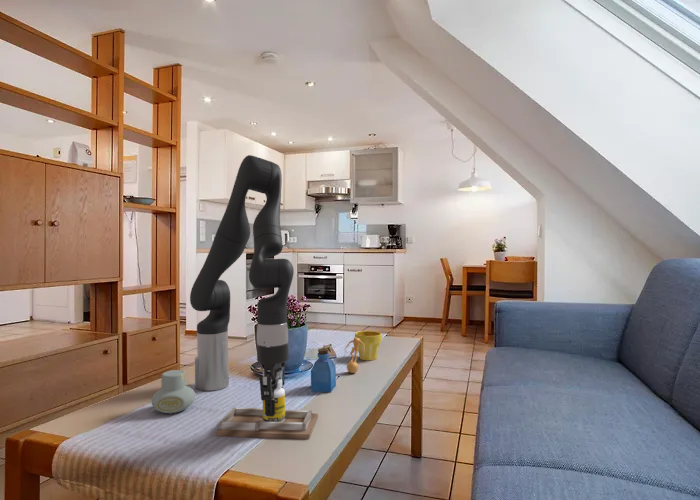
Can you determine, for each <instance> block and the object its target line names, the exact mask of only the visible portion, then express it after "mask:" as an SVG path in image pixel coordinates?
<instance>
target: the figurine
mask: <svg viewBox="0 0 700 500" xmlns="http://www.w3.org/2000/svg"><path fill="white" fill-rule="evenodd" d="M352 343H353V347H352V349H351V350H350V352H349V355H350V356H351V359H350V360H349V362H348V363H347V364H346V369H347V372H349V373H350V374H355V373H357V372H358V370H359V364H358V363H357V358H358V354H359V352H358V351H359V348H358V346H359V344H360V343H361V344H362V345H363V349H364V350H363V352H364V353H365V347H364V346H365V345H364V343H363V342H361V341H360V339H359V338H356V337H355V336H354V337H353V339H352V340H350V341H349V342H348V343H347V344H346V346H345V348H344V350H346V349H347V348H348V347H349V345H350V344H352ZM354 357H355V358H354Z"/></svg>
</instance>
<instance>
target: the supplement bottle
mask: <svg viewBox="0 0 700 500" xmlns="http://www.w3.org/2000/svg"><path fill="white" fill-rule="evenodd" d="M274 385H275V384H274ZM274 385H272V386H274ZM282 386H283V385H282V380H281V379H279V381H278V389H277V390H276V392H275V415H274V416H266V415H265V400H264V401H262V408H263V422H283V421H284V420H285V410H286V390H285V389H284V387H283V388H281V387H282ZM267 395H269V392H267Z"/></svg>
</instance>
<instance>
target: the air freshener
mask: <svg viewBox="0 0 700 500" xmlns="http://www.w3.org/2000/svg"><path fill="white" fill-rule="evenodd" d="M195 401H196V392H195V391H194V389H193V388H191V387H190V386H189V385H186V372H185V371H184V370H181V369H171V370H168V371H164V372H163V373H162V374H161V388H160V389H158V391H156V392H155V393H154V395H153V396H152V398H151V401H150V402H151V406H152V407H153V408H154V410H156V411H157V412H160V413H163V414H167V413H174V414H178V413H180V412H183V411H185V410H186V409H188V408H190V406H192V404H194V402H195Z"/></svg>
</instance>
